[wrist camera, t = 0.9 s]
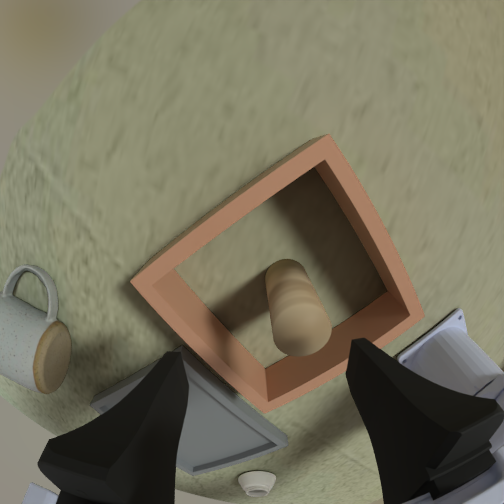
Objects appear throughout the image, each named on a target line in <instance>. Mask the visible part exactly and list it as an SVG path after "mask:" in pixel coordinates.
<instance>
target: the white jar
mask: <svg viewBox="0 0 504 504" xmlns="http://www.w3.org/2000/svg"><path fill="white" fill-rule="evenodd" d="M275 481H276V476H275V475H274V474H272V473H269V472H264V471H252V472H247V473H244V474H241V475H240V476H239V477H238V482H239V484H240V485H241V487H242V488H243V490H244V491H245V492H246V494H247V495H248V496H252V497H261V496H266V495H268V494H269V492H270V490H271V489H272V487H273V485H274V483H275Z"/></svg>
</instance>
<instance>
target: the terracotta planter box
mask: <svg viewBox="0 0 504 504" xmlns="http://www.w3.org/2000/svg"><path fill="white" fill-rule="evenodd" d="M313 167H315V169H316V170H317V172H318V173H319V175H320V176H321V178H322V179H323V181H324V182H325V184H326V185H327V187H328V188H329V190H330V191H331V193H332V195H333V196H334V198H335V199H336V201H337V203H338V204H339V206H340V207H341V209H342V211H343V212H344V214H345V215H346V217H347V219H348V220H349V222H350V224H351V225H352V227H353V229H354V231H355V232H356V234H357V236H358V237H359V239H360V241H361V243H362V244H363V246H364V248H365V250H366V252H367V253H368V255H369V257H370V259H371V261H372V262H373V264H374V266H375V268H376V270H377V272H378V274H379V275H380V277H381V279H382V281H383V283H384V285H385V287H386V289H387V292H386V293H384V294H383V295H382V296H380V297H379V298H377V299H376V300H375V301H373V302H372V303H370V304H369V305H368V306H366V307H365V308H363V309H362V310H360V311H359V312H357V313H356V314H354V315H353V316H352V317H350V318H349V319H347V320H346V321H344V322H342V323H341V324H339V325H338V326H336V327H335V328H333V329H332V332H331V336H330V338H329V340H328V342H327V343H326V344H325V345H324V347H322V348H321V349H320V350H318V351H317V352H315V353H313V354H310V355H307V356H300V357H296V356H290V355H289V356H287V357H286V358H284V359H282V360H280V361H278V362H277V363H275V364H273V365H271V366H269V367H268V368H266V369H265V368H264V367H263V366H262V365H261V364H260V363H259V362H258V361H257V360H256V359H255V358H254V357H253V356H252V355H251V354H250V353H249V352H248V351H247V350H246V349H245V348H244V347H243V346H242V345H241V343H240V342H239V341H238V340H237V339H236V338H235V337H234V336H233V335H232V334H231V333H230V332H229V331H228V330H227V329H226V327H225V326H224V325H223V324H222V323H221V322H220V321H219V320H218V319H217V318H216V317H215V316H214V314H213V313H212V312H211V311H210V310H209V309H208V308H207V307H206V306H205V304H204V303H203V302H202V301H201V300H200V299H199V298H198V296H197V295H196V294H195V293H194V292H193V291H192V290H191V288H190V287H189V286H188V285H187V284H186V283H185V282H184V280H183V279H182V278H181V277H180V276H179V274H178V273H177V272H176V271H175V270H174V269H173V268H175V267H176V266H177V265H179V264H180V263H181V262H183V261H184V260H185V259H187V258H188V257H189V256H191V255H192V254H193V253H195V252H196V251H197V250H199V249H200V248H201V247H203V246H204V245H205V244H207V243H208V242H209V241H211V240H212V239H213V238H215V237H216V236H217V235H219V234H220V233H221V232H223V231H224V230H225V229H227V228H228V227H230V226H231V225H232V224H234V223H235V222H236V221H238V220H239V219H241V218H242V217H243V216H245V215H246V214H247V213H249V212H250V211H252V210H253V209H254V208H256V207H257V206H259V205H260V204H261V203H263V202H264V201H266V200H267V199H268V198H270V197H271V196H273V195H274V194H275V193H277V192H278V191H280V190H281V189H283V188H284V187H285V186H287V185H288V184H290V183H291V182H293V181H294V180H295V179H297V178H298V177H300V176H301V175H303V174H304V173H306V172H307V171H308V170H310V169H311V168H313ZM130 282H131V283H132V285H133V286H134V287H135V288H136V289H137V290H138V291H139V293H140V294H141V295H142V296H143V297H144V298H145V299H146V301H147V302H148V303H149V304H150V305H151V306H152V307H153V308H154V309H155V310H156V312H157V313H158V314H159V315H160V316H161V317H162V318H163V319H164V320H165V321H166V322H167V323H168V324H169V325H170V327H171V328H172V329H173V330H174V331H175V332H176V333H177V334H178V335H179V336H180V337H181V338H182V339H183V340H184V341H185V342H186V343H187V344H188V345H189V346H190V347H191V348H192V349H193V350H194V351H195V352H196V353H197V354H198V355H199V356H200V357H201V358H202V359H203V360H204V361H205V362H207V363H208V364H209V365H210V366H211V367H212V368H213V369H214V370H215V371H216V372H217V373H218V374H219V375H220V376H222V377H223V378H224V379H225V380H226V381H227V382H228V383H229V384H230V385H232V386H233V387H234V388H235V389H236V390H237V391H238V392H240V393H241V394H242V395H243V396H244V397H245V398H246V399H248V400H249V401H250V402H251V403H252V404H254V405H255V406H256V407H257V408H258V409H260V410H261V411H262V412H263V413H264V414H265V413H267V412H269V411H271V410H273V409H276V408H278V407H280V406H282V405H284V404H286V403H288V402H290V401H292V400H294V399H296V398H298V397H300V396H302V395H304V394H306V393H308V392H309V391H311V390H313V389H315V388H317V387H319V386H321V385H322V384H324V383H326V382H328V381H329V380H331V379H333V378H335V377H336V376H338V375H340V374H341V373H343V372H345V371H346V369H347V364H348V358H349V353H350V347H351V340H352V339H358V338H366V339H367V340H369V341H370V342H372V343H373V344H374V345H376V346H377V347H378V348H380V349H381V348H382V347H384V346H385V345H387V344H388V343H390V342H391V341H392V340H394V339H395V338H397V337H398V336H399V335H401V334H402V333H404V332H405V331H406V330H408V329H409V328H410V327H412V326H413V325H414V324H416V323H417V322H418V321H419V320H421V319H422V318H423V317H425V315H424V312H423V310H422V307H421V304H420V302H419V300H418V297H417V295H416V292H415V290H414V288H413V285H412V283H411V281H410V278H409V276H408V274H407V272H406V269H405V267H404V265H403V263H402V261H401V258H400V256H399V254H398V252H397V250H396V248H395V246H394V244H393V242H392V240H391V238H390V236H389V234H388V232H387V230H386V228H385V226H384V224H383V222H382V220H381V219H380V217H379V215H378V213H377V211H376V209H375V207H374V206H373V204H372V202H371V200H370V198H369V197H368V195H367V193H366V191H365V190H364V188H363V186H362V185H361V183H360V181H359V180H358V178H357V176H356V175H355V173H354V171H353V170H352V168H351V166H350V165H349V163H348V162H347V160H346V158H345V157H344V155H343V154H342V152H341V151H340V149H339V148H338V146H337V145H336V143H335V142H334V140H333V139H332V137H331V136H330V134H326V135H323V136H320V137H316V138H313V139H311V140H310V141H308V142H307V143H305V144H304V145H302V146H301V147H299V148H298V149H296V150H295V151H293V152H292V153H290V154H289V155H287V156H286V157H285V158H283V159H282V160H280V161H279V162H277V163H276V164H274V165H273V166H272V167H270V168H269V169H267V170H266V171H265V172H263V173H262V174H260V175H259V176H257V177H256V178H255V179H253V180H252V181H251V182H249V183H248V184H246V185H245V186H244V187H242V188H241V189H239V190H238V191H237V192H235V193H234V194H233V195H231V196H230V197H229V198H227V199H226V200H225V201H223V202H222V203H221V204H219V205H218V206H217V207H215V208H214V209H213V210H211V211H210V212H209V213H207V214H206V215H205V216H203V217H202V218H201V219H200V220H198V221H197V222H196V223H194V224H193V225H192V226H191V227H189V228H188V229H187V230H185V231H184V232H183V233H182V234H180V235H179V236H178V237H177V238H175V239H174V240H173V241H172V242H170V243H169V244H168V245H167V246H165V247H164V248H163V249H162V250H160V251H159V252H158V253H157V254H155V255H154V256H153V257H152V258H151V259H149V261H148V262H147V263H146V264H145V265H144V266H143V267H142V268H141V269H140V271H139V272H138V273H137V274H136V275H135V276H134V277H133V278H132V280H131V281H130Z"/></svg>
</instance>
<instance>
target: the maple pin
mask: <svg viewBox="0 0 504 504" xmlns="http://www.w3.org/2000/svg"><path fill="white" fill-rule="evenodd" d="M265 284H266V291H267V297H268V304H269V311H270V318H271V325H272V332H273V339H274V342H275V345H276V346H277V348H278V349H279V350H280V351H282V352H283V353H285V354H287V355H290V356H296V357H300V356H307V355H310V354H313V353H315V352H317V351H318V350H320V349H321V348H322V347H324V345H325V344H326V343H327V342H328V340H329V338H330V336H331V332H332V325H331V322H330V319H329V317H328V315H327V313H326V311H325V309H324V307H323V305H322V303H321V301H320V299H319V297H318V295H317V293H316V291H315V289H314V287H313V285H312V283H311V281H310V279H309V277H308V275H307V273H306V271H305V269H304V267H303V266H302V265H301V264H300V263H299V262H297V261H295V260H292V259H282V260H279V261H277V262H275V263H273V264H272V265H271V266H270V267H269V269H268V270H267V272H266V275H265Z"/></svg>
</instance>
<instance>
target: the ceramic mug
mask: <svg viewBox="0 0 504 504" xmlns="http://www.w3.org/2000/svg"><path fill="white" fill-rule="evenodd" d="M25 271H30V272H32V273H34V274H36V275H37V276H38V277H39V279H40V280H41V281H42V282H43V283H44V285H45V287H46V289H47V293H48V312H47V313H45V312H43V311H41V310H39V309H36V308H35V307H33V306H31V305H29V304H28V303H26V302H24V301H22V300H21V299H19V298H17V297H15V296H13V290H14V287H15V284H16V282H17V280H18V278H19V276H20V275H21V274H22V273H23V272H25ZM57 311H58V296H57V289H56V286H55V283H54V281H53V280H52V278H51V277H50V275H49V274H48V273H47V272H46V271H45V270H43V269H42V268H40V267H38V266H34V265H27V264H26V265H21V266H18V267H17V268H16V269H15V270H13V271H12V273H11V274H10V275H9V277H8V279H7V281H6V283H5V286H4V289H3V292H0V374H1V375H3V376H5V377H7V378H8V379H10V380H12V381H14V382H16V383H18V384H20V385H22V386H24V387H26V388H28V389H30V390H33V391H36V392H39V393H44V394H49V393H52V392H54V391H56V390H57V389H58V388H59V387H60V385H61V384H62V382H63V380H64V378H65V376H66V374H67V371H68V367H69V363H70V358H71V338H70V334H69V332H68V329H67V327H66V326H65V325H64V324H63V323H62V322H60V321H59V320H57V319H56V316H57Z"/></svg>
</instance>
